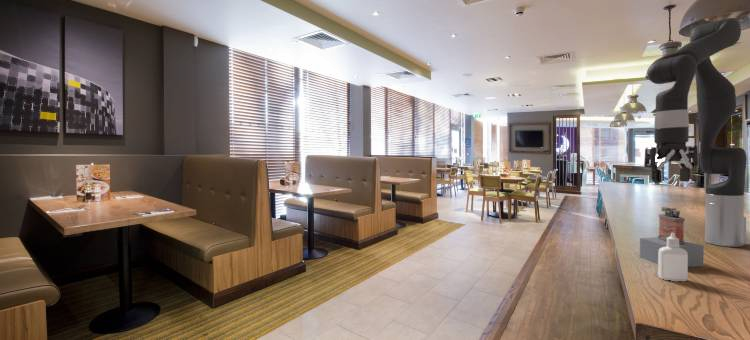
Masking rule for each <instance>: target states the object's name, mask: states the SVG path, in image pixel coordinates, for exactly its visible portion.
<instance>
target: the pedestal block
mask: <svg viewBox="0 0 750 340" xmlns="http://www.w3.org/2000/svg"><path fill="white" fill-rule="evenodd" d="M683 241H684V245H679V248H682V249H684V250H686V251H687V253H688V268H690V267H692V268H695V267H704V251H705V250H704V248H705V247H704V244H700V243H697V242H693V241H689V240H684V239H683ZM666 246H667V242H665V241H662V240H660V239H658V236H656V237H639V258H641V259H644V260H646V261H649V262H653V263H655V264H658V251H659V249H660V248H662V247H666Z"/></svg>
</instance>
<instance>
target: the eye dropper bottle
mask: <svg viewBox="0 0 750 340" xmlns="http://www.w3.org/2000/svg"><path fill="white" fill-rule="evenodd" d="M657 265H658V268H657V276H658V277H659V278H660V279H661V280H663V279H664V281H668V280H671V281H670V282H678V281H682V282H687V281H688V279H689V278H688V274H689V273H688V272H689V271H688V270H689V267H688V253H687V251H686V250H684V249H682V248H679V239H678V238H676V236H675V233H671V235H670V237H667V246H666V247H662V248H660V249H659V251H658V263H657Z"/></svg>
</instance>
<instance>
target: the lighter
mask: <svg viewBox="0 0 750 340" xmlns="http://www.w3.org/2000/svg"><path fill="white" fill-rule="evenodd" d="M661 212H664V213H659V214H658V218H659V222H658V223H659V227H658V232H659V235H658V236H657V237H658V239H660V240H662V241H665V242H667V237H670V235H671V233H675V236H676V238H678V239H679V245H684V241H683V240H684V238H685V237H684V236H685V234H684V225H685V224H684V223H685V218H684V217H681V216H680V215H681V210H680V209H679V210H678V209H677V208H676V207H667V206H662V207H661Z"/></svg>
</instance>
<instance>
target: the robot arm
mask: <svg viewBox="0 0 750 340" xmlns="http://www.w3.org/2000/svg"><path fill="white" fill-rule="evenodd" d="M741 30H742V28H741V24H740V22H739V20H738V19H736V18H733V17H728V18H727V17H726V18H723V19H719V20H715V21H710V22H707V23H703V24H700V25H697V26H695V27H693V29H691V32H690V36H689V38H690V39H689V42H688V43H685V44H684V45H683V46H682V47H680V48H678V49H677V50H675V52H673V53H670V54H668V55H665V56H663V57H661V58H658V59H656V60H654V61H653V62H652V64H651V65H650V66H649V68H648V70H647V78H648V80H649V82H652V83H653V84H656V85H663V84H669V83H674V84H673V86H672V87H670V88H669V89H666V90H663V91H660V92H659V93H657V94H656V96H655V116H654V135H653V136H654V140H653V141H654V143H655V144H656V147H654V146H651V147H647V146H646V147H645V149H644V162H643V163H644V164H643V165H644V168H646V169H647V168H648V169H650V170H651V180H652V182H653V183H654V184H656V183H657V184H658V183H659V184H661V183H662V178H663V177H662V170H661V169H662V168H663V166H664V165H665V164H667V163H669V162H670V163H671V162H674V163H676V164H678V166H679V167H680V169H679V181H680V182H684V183H685V182H690V180H691V169H692V168H694V167H697V166H698V165H699V166H700V170H701V171H702V173H704V174H708V175H728V177H727V179H725V180H723V181H720V182H718V183H712V184H707V185H706V186H705V211H704V212H705V216H704V218H705V219H704V221H705V223H704V226H705V227H704V242H705V243H708V244H710V245H716V246H723V247H732V248H733V247H734V248H735V247H737V248H738V247H739V248H741V247H744V246H746V245H747V217H746V216H745V215H744V213H745V211H744V210H745V186H746V185H745V184H746V171H747V159H748V158H747V153H746V151H745V149H744V148H742V147H739V146H738V147H716V146H715V145H716V141H717V140H716V139H717V136H718V134H720V131H721V130H722V128H723V127H724V126H725V124H727V122H728V121H729V119H730V118H732V116H733V114H734V113H735V111H736V109H737V96H736V95H737V94H736V89H735V85H733V83H732V82H731V81H730V80H729V79H728V78H727V77H726V76H724V75H723V74H722V73H721V72H720V71H719V70H718V69H717V68H716V67H715V66H714V64H713V62H712V60H711V56H714V55H715V54H717V53H719V52H721V51H723V50H725V49H728V48H730V47H733V46H735V44H737V43H738V42H739V40H740V38H741V35H742V31H741ZM694 77H695V78H694ZM693 79H695V84H696V86H695V88H696V106H697V114H698V123H699V154H698V146H697V145H686V144H687V143H688V142H689V141H690V140H689V138H690V137H689V136H690V135H689V129H690V125H689V123H690V122H689V120H690V118H689V112H688V109H689V108H688V105H689V104H688V103H689V102H688V101H689V100H688V98H689V97H688V96H689V93H690V89H691V86H692V84H693ZM698 155H699V156H698ZM698 157H699V159H698Z"/></svg>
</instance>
